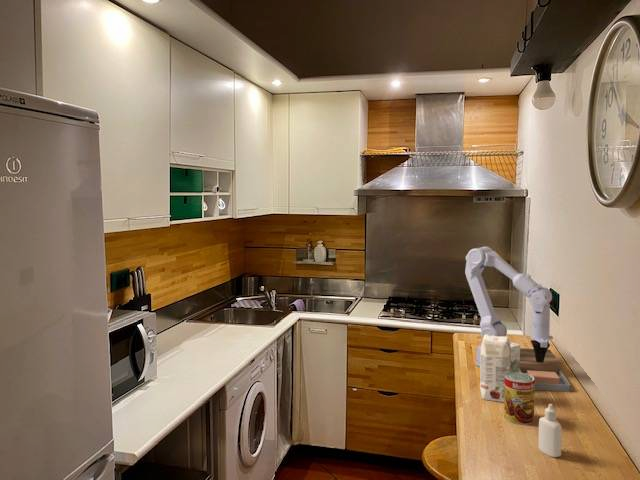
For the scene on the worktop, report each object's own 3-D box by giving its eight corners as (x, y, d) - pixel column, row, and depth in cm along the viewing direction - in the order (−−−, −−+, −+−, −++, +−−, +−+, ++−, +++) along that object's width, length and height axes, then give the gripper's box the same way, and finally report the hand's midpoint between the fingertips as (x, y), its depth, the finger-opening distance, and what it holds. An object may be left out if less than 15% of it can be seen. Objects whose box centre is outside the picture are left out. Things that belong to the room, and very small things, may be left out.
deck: (560, 376, 172) (561, 365, 172) (517, 373, 175) (517, 362, 175) (549, 360, 189) (550, 349, 189) (510, 357, 193) (510, 347, 192)
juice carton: (508, 404, 150) (509, 342, 148) (479, 399, 153) (479, 339, 152) (510, 395, 157) (511, 335, 155) (482, 391, 160) (482, 333, 159)
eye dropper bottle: (555, 447, 124) (557, 400, 123) (562, 458, 118) (563, 409, 117) (537, 445, 125) (538, 399, 124) (542, 457, 119) (543, 408, 118)
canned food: (518, 426, 135) (518, 383, 134) (497, 415, 142) (498, 374, 141) (540, 421, 138) (541, 379, 137) (519, 410, 145) (519, 370, 144)
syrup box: (503, 382, 168) (504, 339, 167) (519, 387, 163) (520, 343, 162) (493, 386, 164) (494, 342, 163) (509, 391, 160) (510, 347, 158)
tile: (555, 372, 170) (555, 377, 170) (527, 370, 172) (526, 376, 172) (559, 378, 164) (559, 384, 164) (530, 376, 166) (530, 382, 166)
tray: (571, 392, 158) (571, 385, 158) (524, 388, 162) (524, 382, 161) (560, 376, 172) (561, 370, 172) (517, 373, 175) (517, 368, 175)
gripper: (557, 329, 164) (556, 369, 165) (548, 318, 178) (547, 356, 179) (534, 328, 165) (533, 368, 166) (527, 318, 179) (526, 354, 180)
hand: (539, 361), depth 173 cm, fingers closed
